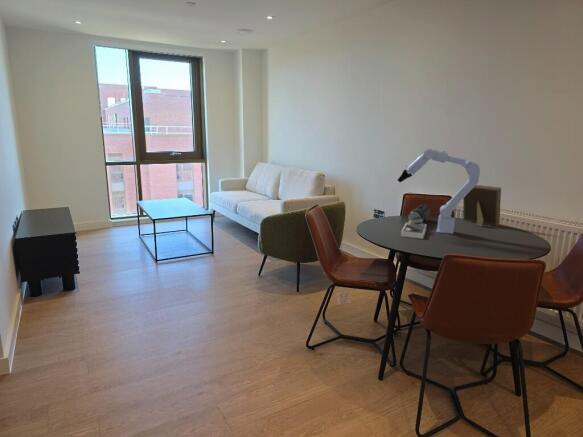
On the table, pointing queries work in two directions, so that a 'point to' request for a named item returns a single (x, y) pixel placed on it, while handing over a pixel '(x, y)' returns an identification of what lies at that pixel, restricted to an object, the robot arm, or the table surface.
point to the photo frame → (482, 205)
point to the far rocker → (417, 221)
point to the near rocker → (413, 226)
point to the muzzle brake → (419, 213)
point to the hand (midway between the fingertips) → (399, 180)
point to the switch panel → (413, 232)
